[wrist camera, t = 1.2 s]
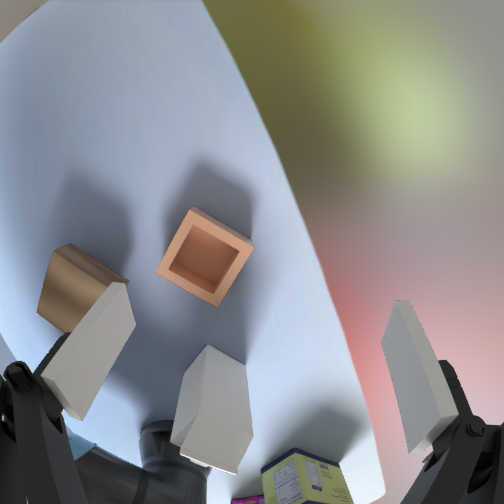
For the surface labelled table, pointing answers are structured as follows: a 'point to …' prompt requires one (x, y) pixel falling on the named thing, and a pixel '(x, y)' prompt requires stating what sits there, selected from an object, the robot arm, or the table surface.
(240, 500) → the candy bar box
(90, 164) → the table surface
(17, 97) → the table surface
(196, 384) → the milk carton
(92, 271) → the brown box
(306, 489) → the protein box
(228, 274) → the open square box
